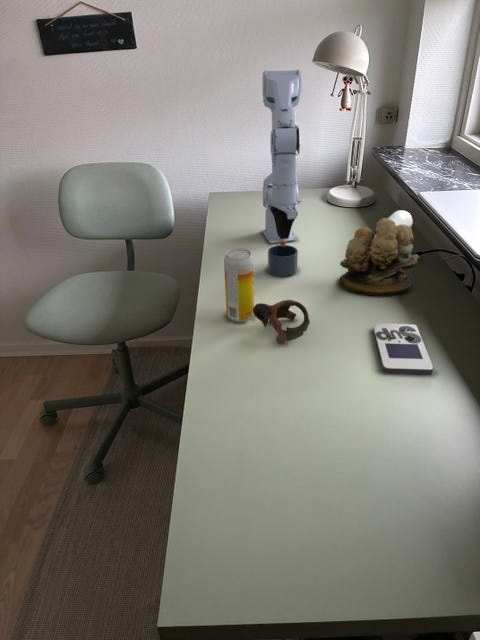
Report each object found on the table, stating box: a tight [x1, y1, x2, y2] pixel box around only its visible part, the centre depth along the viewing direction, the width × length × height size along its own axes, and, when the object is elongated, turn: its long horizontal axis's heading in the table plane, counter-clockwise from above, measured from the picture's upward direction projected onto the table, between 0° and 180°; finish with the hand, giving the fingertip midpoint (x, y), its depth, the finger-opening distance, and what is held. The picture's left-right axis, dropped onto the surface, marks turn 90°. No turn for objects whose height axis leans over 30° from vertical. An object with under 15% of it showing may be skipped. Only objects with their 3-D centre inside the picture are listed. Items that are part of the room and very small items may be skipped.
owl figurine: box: [339, 217, 420, 297], centre depth 113 cm, size 18×12×17 cm, turn 87°
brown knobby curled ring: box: [253, 299, 311, 345], centre depth 100 cm, size 12×10×8 cm
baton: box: [280, 239, 287, 247], centre depth 120 cm, size 1×1×8 cm
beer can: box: [223, 248, 255, 323], centre depth 103 cm, size 6×6×15 cm
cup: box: [267, 244, 299, 278], centre depth 124 cm, size 7×7×6 cm
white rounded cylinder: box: [374, 209, 414, 236], centre depth 137 cm, size 7×7×15 cm
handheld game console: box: [373, 323, 434, 375], centre depth 95 cm, size 9×15×1 cm, turn 175°
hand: (283, 236), depth 121 cm, fingers closed on baton, 1 cm apart
